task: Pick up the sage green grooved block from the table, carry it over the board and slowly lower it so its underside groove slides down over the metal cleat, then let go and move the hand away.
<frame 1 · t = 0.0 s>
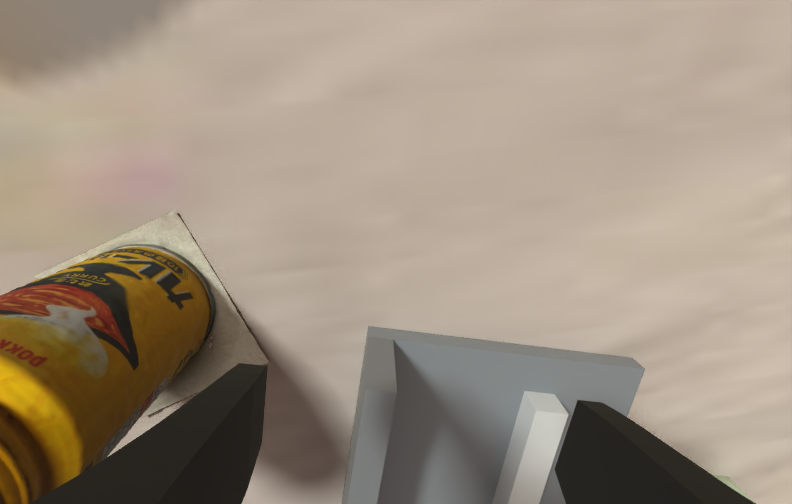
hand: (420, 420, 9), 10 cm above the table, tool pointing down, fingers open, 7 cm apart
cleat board: (468, 481, 22), on the table
condiment: (162, 317, 19), on the table
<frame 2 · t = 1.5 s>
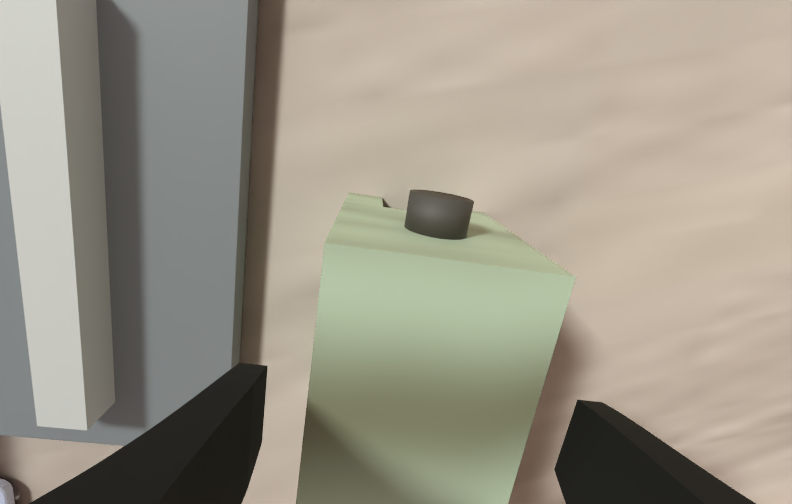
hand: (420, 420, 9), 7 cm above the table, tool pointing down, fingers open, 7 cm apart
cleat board: (40, 205, 14), on the table
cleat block: (400, 302, 15), on the table
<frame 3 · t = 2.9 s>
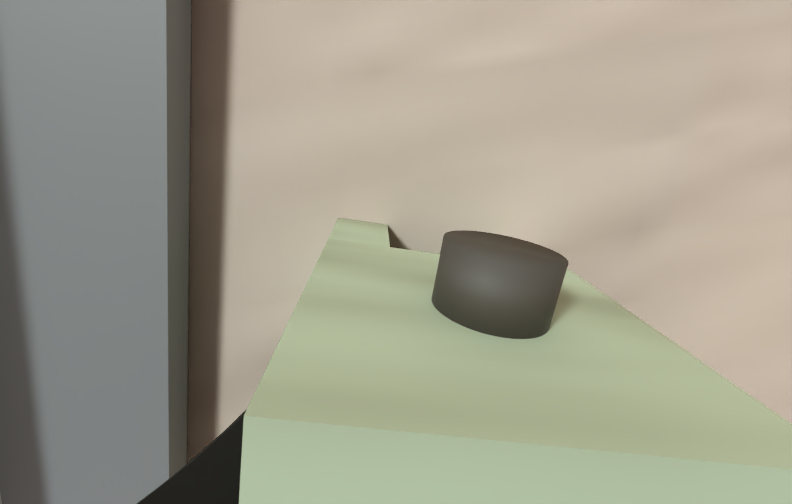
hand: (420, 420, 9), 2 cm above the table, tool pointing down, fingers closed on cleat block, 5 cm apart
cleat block: (412, 371, 11), on the table, touching gripper
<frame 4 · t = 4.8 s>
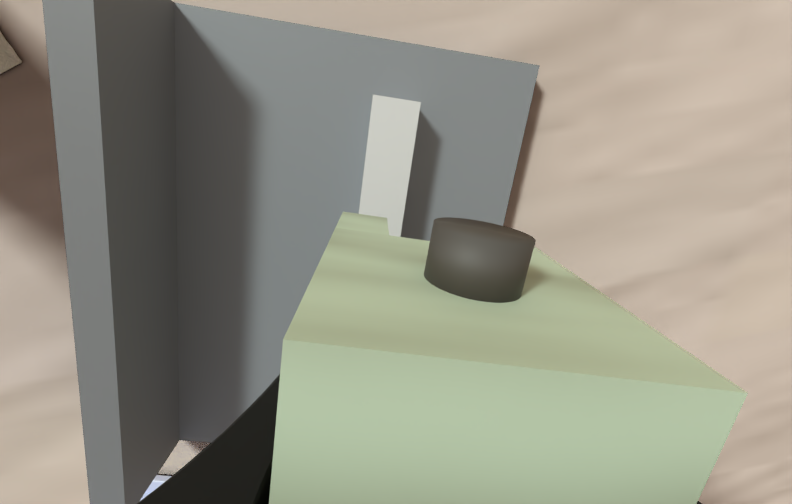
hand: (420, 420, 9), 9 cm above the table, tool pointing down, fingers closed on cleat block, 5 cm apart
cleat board: (325, 266, 17), on the table
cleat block: (409, 352, 12), point 6 cm above the table, touching gripper
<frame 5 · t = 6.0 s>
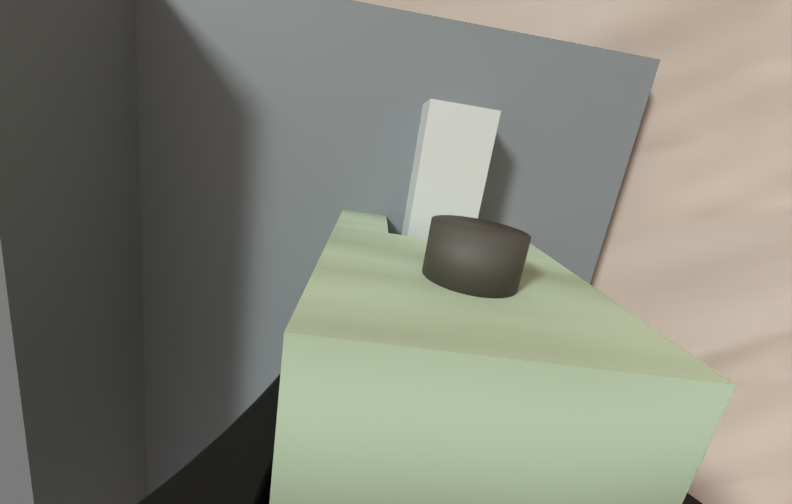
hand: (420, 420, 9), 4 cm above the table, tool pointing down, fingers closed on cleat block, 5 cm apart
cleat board: (346, 326, 13), on the table
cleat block: (409, 349, 12), point 1 cm above the table, touching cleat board, gripper
when the fingers open (4 cm above the table, at t = 6.6 s): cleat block stays where it is, resting on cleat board.
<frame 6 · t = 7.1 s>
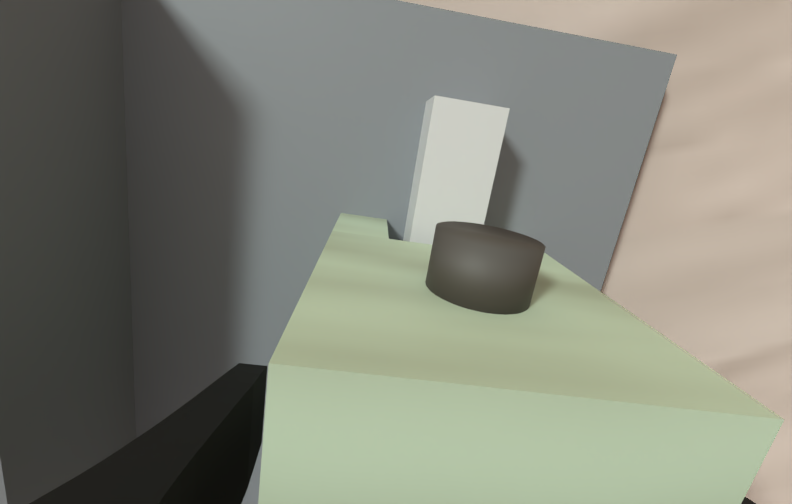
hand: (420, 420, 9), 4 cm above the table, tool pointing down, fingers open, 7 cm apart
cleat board: (345, 333, 12), on the table
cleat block: (410, 358, 11), point 1 cm above the table, touching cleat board
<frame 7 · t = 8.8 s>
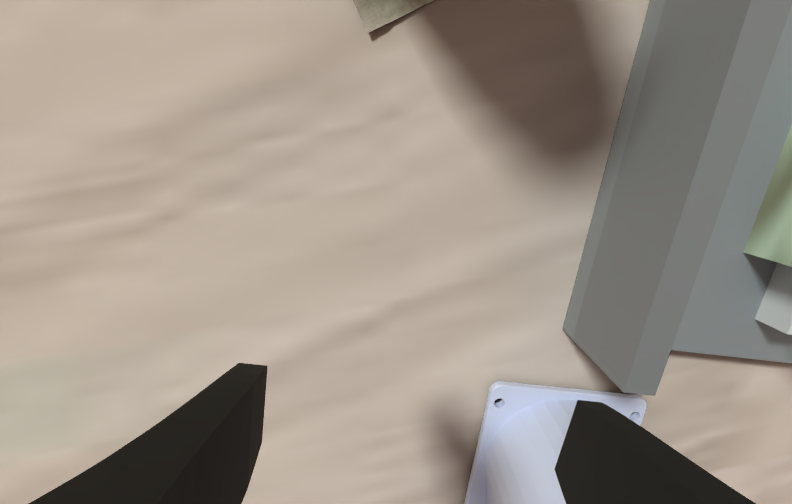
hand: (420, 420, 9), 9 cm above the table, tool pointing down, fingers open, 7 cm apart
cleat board: (767, 159, 17), on the table
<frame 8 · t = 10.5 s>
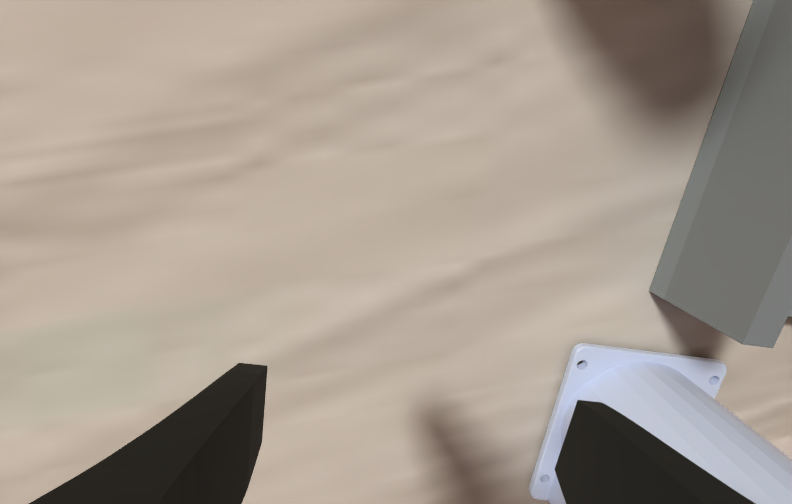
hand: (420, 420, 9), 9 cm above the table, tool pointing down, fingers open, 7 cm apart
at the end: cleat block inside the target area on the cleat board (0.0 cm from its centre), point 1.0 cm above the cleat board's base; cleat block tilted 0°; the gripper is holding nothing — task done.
